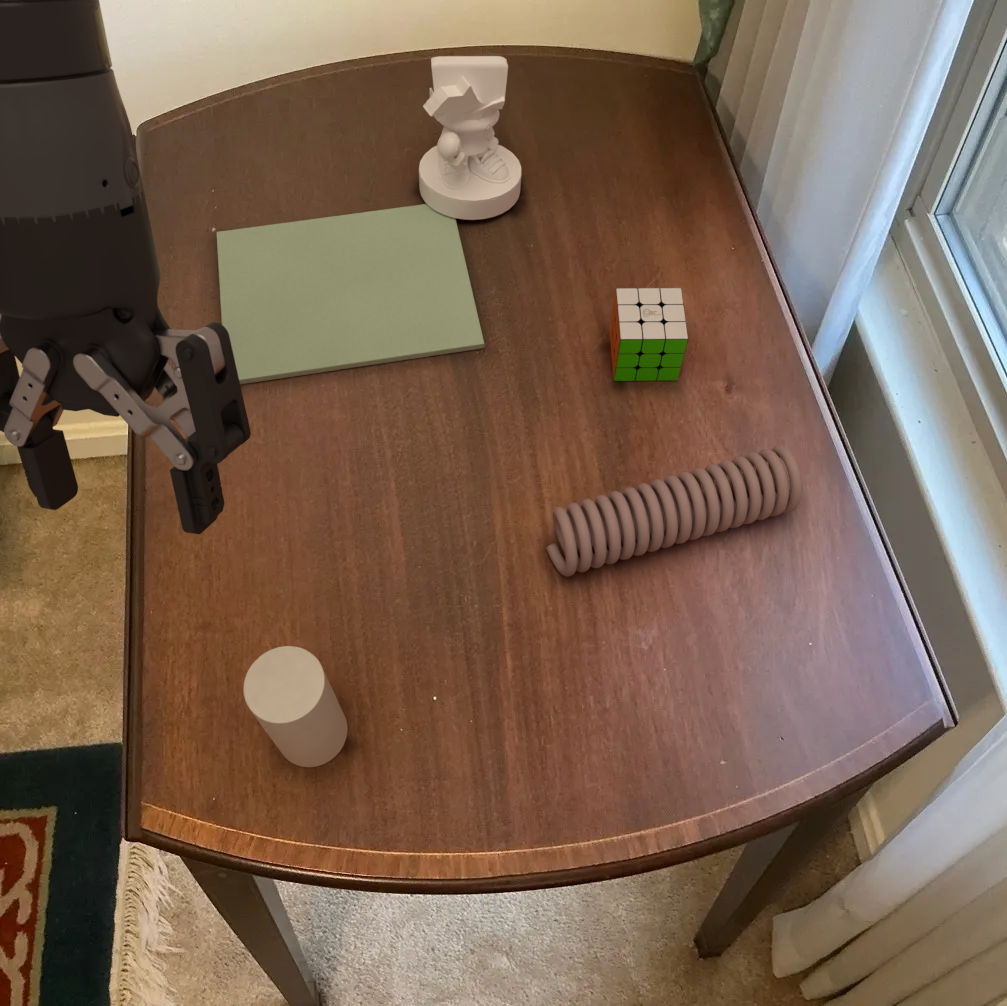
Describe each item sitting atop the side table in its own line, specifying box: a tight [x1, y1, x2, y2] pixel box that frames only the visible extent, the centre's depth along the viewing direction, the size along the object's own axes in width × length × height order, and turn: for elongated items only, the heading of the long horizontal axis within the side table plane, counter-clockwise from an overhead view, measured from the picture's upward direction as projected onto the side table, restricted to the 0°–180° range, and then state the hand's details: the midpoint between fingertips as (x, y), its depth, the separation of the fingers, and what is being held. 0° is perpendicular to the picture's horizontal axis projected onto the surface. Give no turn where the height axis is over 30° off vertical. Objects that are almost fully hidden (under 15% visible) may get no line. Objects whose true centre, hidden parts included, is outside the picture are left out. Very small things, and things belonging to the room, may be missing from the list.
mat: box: [216, 203, 485, 385], centre depth 78 cm, size 20×16×1 cm
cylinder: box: [243, 645, 348, 768], centre depth 56 cm, size 4×4×9 cm
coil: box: [545, 444, 803, 577], centre depth 65 cm, size 5×5×18 cm
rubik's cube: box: [608, 287, 689, 382], centre depth 73 cm, size 5×5×5 cm
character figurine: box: [418, 55, 522, 221], centre depth 79 cm, size 9×10×12 cm
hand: (130, 513), depth 49 cm, fingers open, 8 cm apart
